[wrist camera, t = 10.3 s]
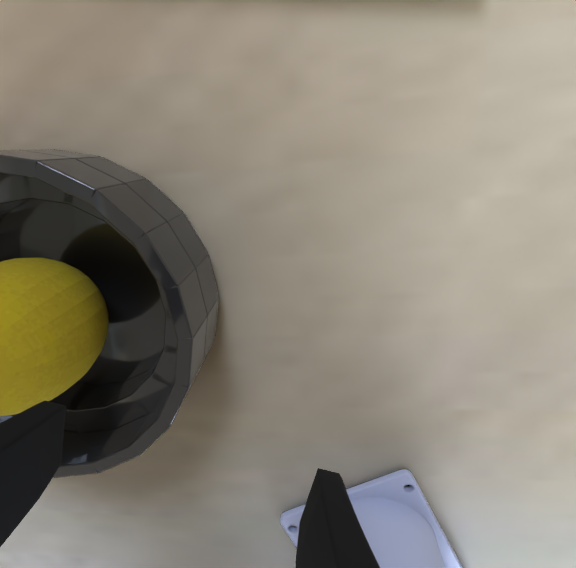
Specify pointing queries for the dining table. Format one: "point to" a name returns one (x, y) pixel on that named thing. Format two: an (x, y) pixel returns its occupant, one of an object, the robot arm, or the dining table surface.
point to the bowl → (115, 294)
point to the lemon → (46, 330)
